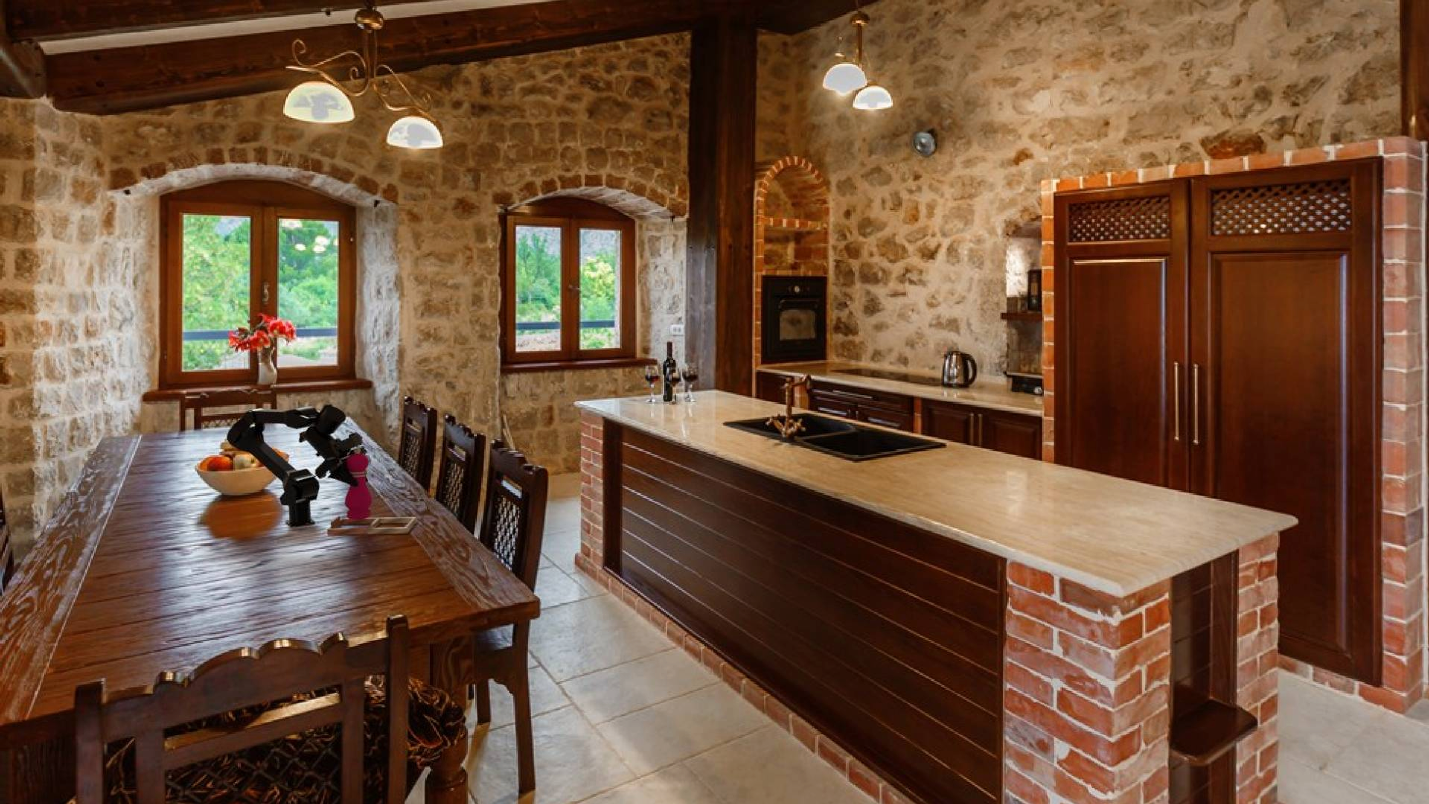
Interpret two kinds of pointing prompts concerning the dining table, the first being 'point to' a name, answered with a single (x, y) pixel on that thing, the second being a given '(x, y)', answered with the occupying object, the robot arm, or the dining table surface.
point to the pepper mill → (358, 487)
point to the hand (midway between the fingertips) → (362, 483)
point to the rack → (372, 527)
